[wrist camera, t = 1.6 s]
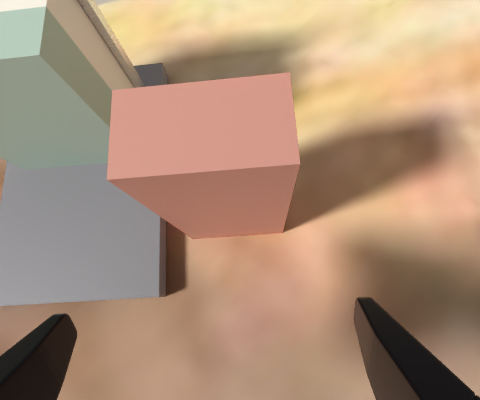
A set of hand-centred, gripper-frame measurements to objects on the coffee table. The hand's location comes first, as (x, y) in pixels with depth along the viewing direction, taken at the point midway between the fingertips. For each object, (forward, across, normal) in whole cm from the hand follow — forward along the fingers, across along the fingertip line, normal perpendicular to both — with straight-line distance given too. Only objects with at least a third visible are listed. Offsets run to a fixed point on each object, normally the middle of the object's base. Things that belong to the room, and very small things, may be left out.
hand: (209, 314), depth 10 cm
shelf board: (+16, +11, +2) cm, 19 cm away
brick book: (+13, 0, +4) cm, 14 cm away
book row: (+17, +11, -1) cm, 20 cm away
